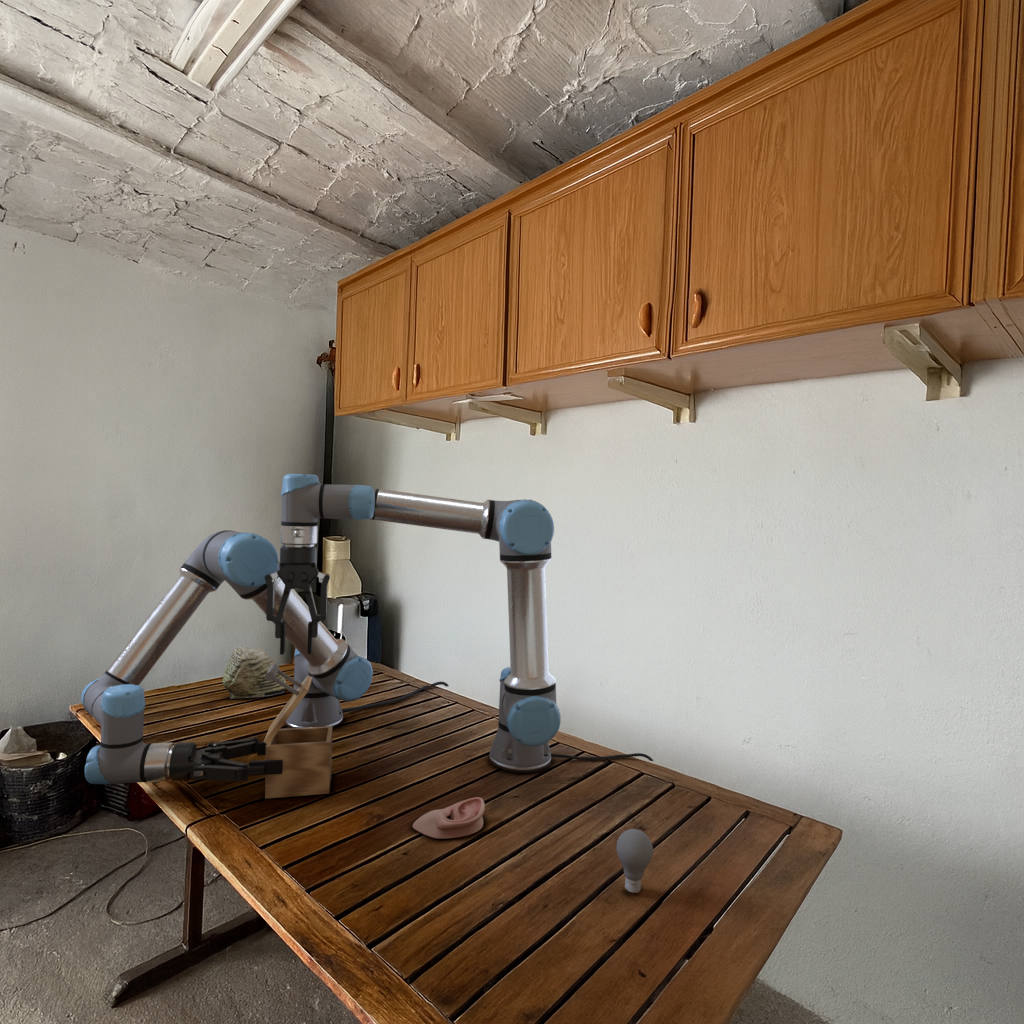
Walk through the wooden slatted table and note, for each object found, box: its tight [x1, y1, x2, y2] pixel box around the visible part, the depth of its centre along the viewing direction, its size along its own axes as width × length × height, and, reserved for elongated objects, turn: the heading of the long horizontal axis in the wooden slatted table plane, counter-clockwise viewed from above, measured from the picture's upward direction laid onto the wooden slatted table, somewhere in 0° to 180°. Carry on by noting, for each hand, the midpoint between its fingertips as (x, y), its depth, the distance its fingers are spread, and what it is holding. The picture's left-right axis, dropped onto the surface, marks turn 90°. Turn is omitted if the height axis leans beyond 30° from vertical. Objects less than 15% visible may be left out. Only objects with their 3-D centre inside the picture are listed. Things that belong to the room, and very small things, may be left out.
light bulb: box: [615, 828, 654, 894], centre depth 106 cm, size 6×6×10 cm
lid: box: [263, 663, 312, 744], centre depth 136 cm, size 14×10×9 cm
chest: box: [264, 726, 333, 800], centre depth 138 cm, size 13×10×11 cm
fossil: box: [222, 646, 287, 699], centre depth 198 cm, size 9×18×15 cm, turn 132°
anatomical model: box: [412, 796, 486, 840], centre depth 124 cm, size 13×4×12 cm
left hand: (285, 756), depth 137 cm, fingers closed on chest, 10 cm apart
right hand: (296, 652), depth 137 cm, fingers open, 5 cm apart
